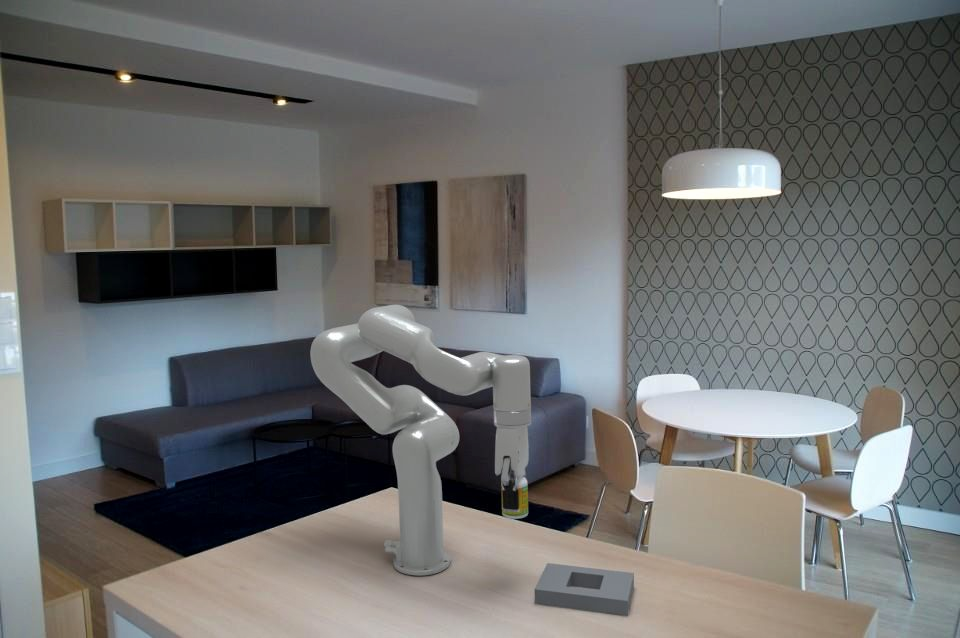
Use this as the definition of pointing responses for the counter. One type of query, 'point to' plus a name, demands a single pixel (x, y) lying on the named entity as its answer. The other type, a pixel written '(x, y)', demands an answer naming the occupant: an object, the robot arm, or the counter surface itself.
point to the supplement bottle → (523, 499)
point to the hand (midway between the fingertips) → (514, 502)
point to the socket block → (608, 599)
